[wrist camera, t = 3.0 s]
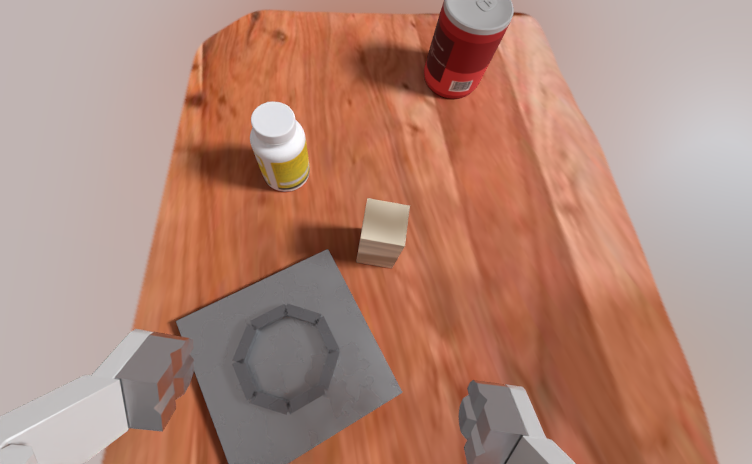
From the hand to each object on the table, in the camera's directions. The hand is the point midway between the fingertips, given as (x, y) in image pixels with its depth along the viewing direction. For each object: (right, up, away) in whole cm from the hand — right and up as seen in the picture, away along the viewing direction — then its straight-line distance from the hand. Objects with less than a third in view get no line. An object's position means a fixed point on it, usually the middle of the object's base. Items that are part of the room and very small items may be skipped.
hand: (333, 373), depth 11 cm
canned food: (+11, +25, +39) cm, 48 cm away
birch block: (+1, +2, +30) cm, 30 cm away
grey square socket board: (-7, -8, +25) cm, 27 cm away
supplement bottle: (-9, +11, +32) cm, 35 cm away
